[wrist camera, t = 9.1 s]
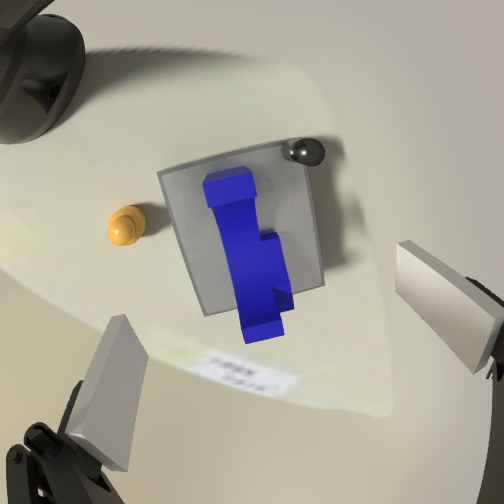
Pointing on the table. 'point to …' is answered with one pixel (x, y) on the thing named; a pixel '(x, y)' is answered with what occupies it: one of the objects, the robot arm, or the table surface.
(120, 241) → the chess pawn
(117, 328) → the robot arm
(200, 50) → the table surface
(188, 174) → the grey square plate
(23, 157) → the table surface
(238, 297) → the cable clip
